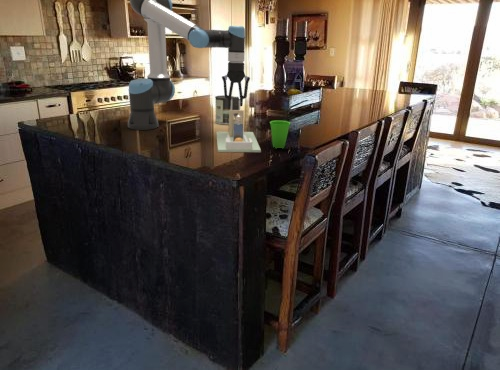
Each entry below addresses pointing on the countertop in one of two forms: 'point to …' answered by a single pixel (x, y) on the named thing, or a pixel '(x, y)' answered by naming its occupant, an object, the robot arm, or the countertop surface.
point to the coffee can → (222, 110)
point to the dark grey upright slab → (237, 120)
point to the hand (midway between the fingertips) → (235, 112)
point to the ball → (238, 140)
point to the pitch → (226, 138)
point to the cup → (279, 133)
